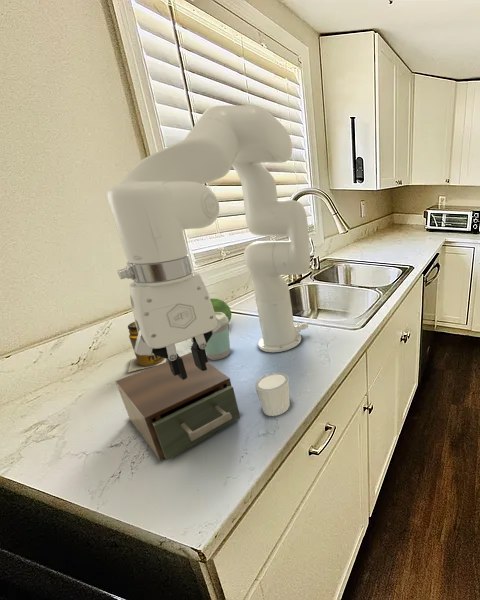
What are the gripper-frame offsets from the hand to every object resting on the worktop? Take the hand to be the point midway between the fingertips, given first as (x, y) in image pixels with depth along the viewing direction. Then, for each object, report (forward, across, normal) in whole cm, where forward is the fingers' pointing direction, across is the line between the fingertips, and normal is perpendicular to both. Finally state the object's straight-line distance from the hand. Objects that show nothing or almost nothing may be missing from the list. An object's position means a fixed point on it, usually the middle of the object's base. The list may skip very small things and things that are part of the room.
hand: (191, 371), depth 56 cm
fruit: (+17, +26, +56) cm, 64 cm away
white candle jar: (+17, +14, 0) cm, 22 cm away
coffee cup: (+17, +17, +34) cm, 42 cm away
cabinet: (+17, 0, +14) cm, 22 cm away
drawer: (+16, 0, +8) cm, 18 cm away
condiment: (+17, +3, +46) cm, 50 cm away
